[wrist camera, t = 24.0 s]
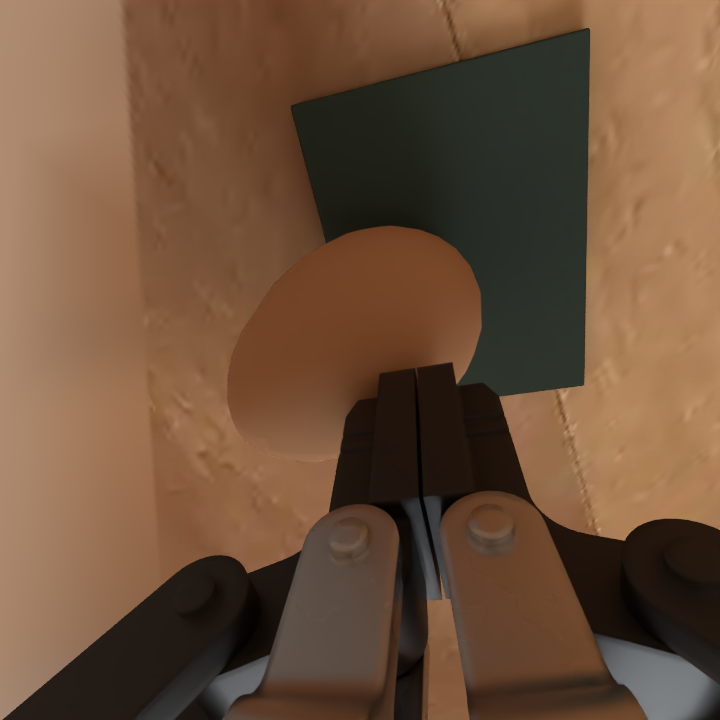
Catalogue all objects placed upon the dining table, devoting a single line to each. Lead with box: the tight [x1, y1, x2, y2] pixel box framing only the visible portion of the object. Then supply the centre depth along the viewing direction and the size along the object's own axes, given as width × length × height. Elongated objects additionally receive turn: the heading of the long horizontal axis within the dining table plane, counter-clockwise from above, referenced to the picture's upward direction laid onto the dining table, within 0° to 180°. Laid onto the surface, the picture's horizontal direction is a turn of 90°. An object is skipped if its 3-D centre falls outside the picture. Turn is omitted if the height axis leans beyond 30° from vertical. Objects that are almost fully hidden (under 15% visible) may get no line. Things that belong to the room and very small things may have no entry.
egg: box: [227, 226, 482, 462], centre depth 12 cm, size 5×5×8 cm
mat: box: [291, 28, 590, 396], centre depth 15 cm, size 11×8×1 cm
